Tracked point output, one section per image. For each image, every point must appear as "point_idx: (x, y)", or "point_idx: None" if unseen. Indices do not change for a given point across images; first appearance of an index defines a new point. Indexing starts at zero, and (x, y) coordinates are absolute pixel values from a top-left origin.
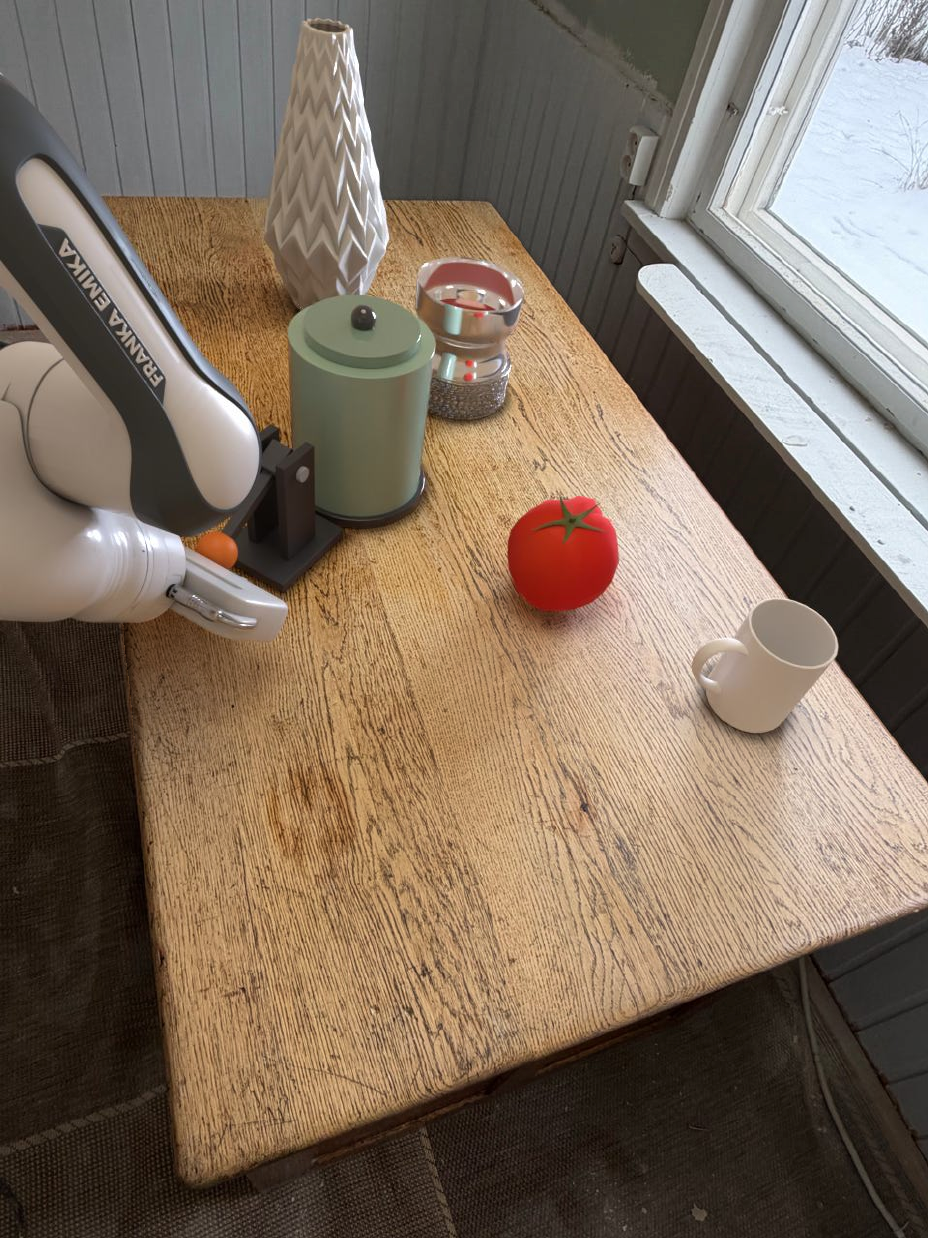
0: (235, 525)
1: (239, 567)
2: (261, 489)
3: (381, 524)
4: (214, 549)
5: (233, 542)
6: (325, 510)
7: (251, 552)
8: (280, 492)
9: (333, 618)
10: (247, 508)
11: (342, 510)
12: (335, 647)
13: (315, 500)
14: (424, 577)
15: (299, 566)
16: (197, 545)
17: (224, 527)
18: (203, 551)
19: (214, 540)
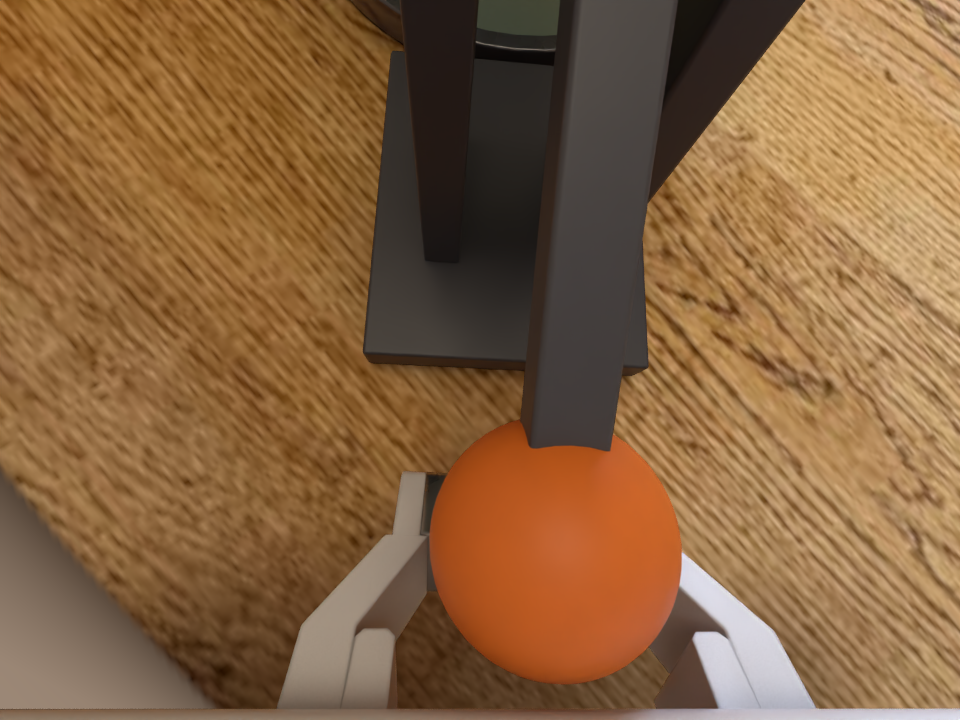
0: (611, 366)
1: (459, 366)
2: None
3: None
4: (634, 635)
5: (639, 462)
6: (543, 37)
7: (471, 304)
8: None
9: (807, 374)
10: (634, 205)
11: None
12: (887, 464)
13: (504, 14)
14: (881, 118)
15: (637, 271)
16: (474, 634)
17: (541, 410)
18: (560, 675)
19: (603, 588)
